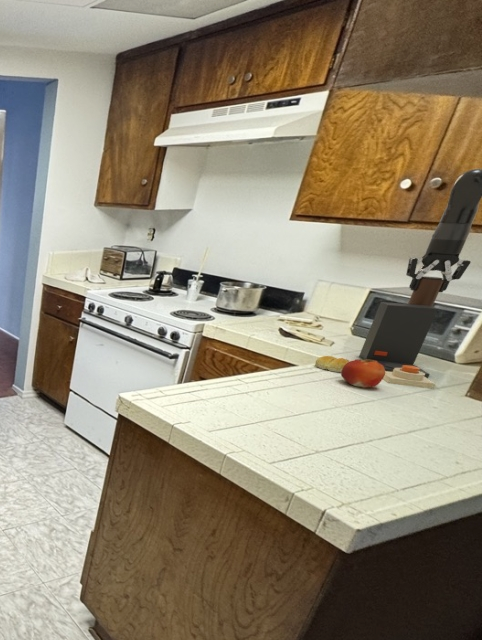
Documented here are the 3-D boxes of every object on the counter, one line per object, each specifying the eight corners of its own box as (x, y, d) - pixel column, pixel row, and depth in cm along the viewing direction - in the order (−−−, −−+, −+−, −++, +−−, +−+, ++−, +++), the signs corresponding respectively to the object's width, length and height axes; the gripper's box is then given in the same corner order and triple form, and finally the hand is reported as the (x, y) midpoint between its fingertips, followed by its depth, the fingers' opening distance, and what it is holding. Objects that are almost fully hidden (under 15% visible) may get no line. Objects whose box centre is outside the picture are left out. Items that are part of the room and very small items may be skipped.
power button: (414, 371, 142) (416, 366, 141) (419, 375, 139) (422, 369, 138) (398, 369, 143) (400, 364, 143) (403, 373, 140) (405, 367, 140)
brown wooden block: (399, 308, 163) (413, 275, 159) (421, 310, 161) (436, 276, 157) (409, 312, 157) (424, 277, 153) (433, 314, 155) (448, 279, 150)
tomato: (383, 393, 133) (394, 366, 130) (341, 386, 138) (351, 360, 135) (373, 383, 141) (384, 358, 138) (334, 377, 145) (343, 353, 142)
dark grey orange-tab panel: (427, 378, 146) (457, 315, 138) (376, 372, 151) (402, 310, 143) (403, 363, 160) (429, 305, 152) (357, 358, 165) (380, 301, 157)
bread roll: (323, 363, 159) (327, 352, 157) (354, 371, 151) (359, 359, 149) (307, 365, 156) (311, 354, 154) (339, 374, 148) (344, 362, 147)
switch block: (420, 380, 144) (425, 370, 142) (433, 389, 137) (438, 377, 136) (377, 375, 148) (382, 364, 146) (388, 383, 141) (392, 372, 140)
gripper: (424, 237, 149) (402, 290, 156) (487, 239, 143) (462, 294, 150) (413, 236, 156) (392, 287, 162) (473, 238, 149) (450, 291, 156)
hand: (426, 290), depth 156 cm, fingers closed on brown wooden block, 6 cm apart
